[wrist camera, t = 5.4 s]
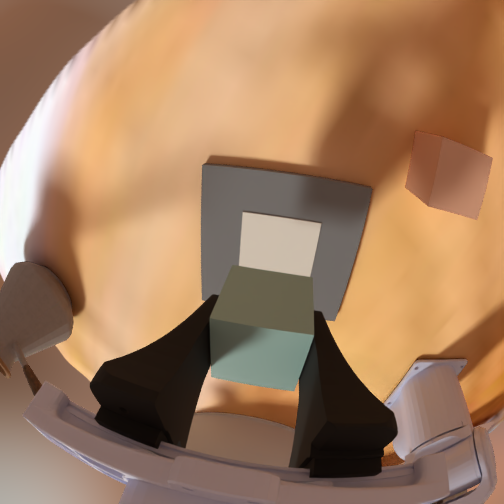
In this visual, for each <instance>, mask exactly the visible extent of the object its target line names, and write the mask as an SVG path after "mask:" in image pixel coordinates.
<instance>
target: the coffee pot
mask: <svg viewBox="0 0 504 504" xmlns="http://www.w3.org/2000/svg"><path fill="white" fill-rule="evenodd" d="M72 328H73V314H72V304H71V300H70V297H69V295H68V293H67V291H66V289H65V287H64V286H63V284H62V283H61V281H60V280H59V279H58V278H57V276H56V275H55V274H54V273H53V272H51V271H50V270H49V269H48V268H46V267H44V266H41V265H38V264H35V263H32V262H28V261H25V262H18V263H15V264H14V265H13V267H12V268H11V269H10V271H9V273H8V275H7V278H6V280H5V282H4V284H3V286H2V288H1V291H0V372H1V373H2V374H3V375H4V376H5V377H6V378H10V377H11V374H10V371H11V368H12V366H13V364H14V362H16V361H18V360H19V361H20V364H21V365H22V368H23V371H24V374H25V376H26V378H27V381H28V383H29V385H30V388H31V390H32V392H33V394H34V396H35V395H36V394H37V392H38V391H39V389H40V388H41V386H42V385H41V383H40V382H39V380H38V379H37V377H36V376H35V374H34V372H33V371H32V369H31V368H30V366H29V365H28V363H27V361H26V359H25V357H28V356H30V355H32V354H35V353H37V352H39V351H42V350H44V349H47V348H49V347H51V346H54V345H56V344H58V343H61V342H63V341H65V340H67V339H68V338H69V337H70V335H71V333H72Z"/></svg>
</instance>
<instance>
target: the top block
mask: <svg viewBox="0 0 504 504" xmlns="http://www.w3.org/2000/svg"><path fill="white" fill-rule="evenodd" d="M492 159H493V158H492V157H490V156H488V155H485V154H483V153H481V152H479V151H477V150H474V149H472V148H470V147H468V146H465V145H463V144H460V143H458V142H455V141H453V140H450V139H448V138H445V137H442V136H438V135H434V134H429V133H425V132H420V131H415V137H414V144H413V149H412V155H411V160H410V166H409V171H408V176H407V180H406V185H405V188H406V189H408V190H409V191H410V192H411V193H413V194H414V195H415V196H416V197H418V198H419V199H420V200H421V201H422V202H424V203H425V204H426V205H427V206H429V207H433V208H437V209H440V210H444V211H448V212H451V213H455V214H458V215H462V216H465V217H469V218H472V219H475V220H477V219H478V216H479V212H480V209H481V205H482V202H483V198H484V195H485V191H486V187H487V182H488V178H489V174H490V169H491V164H492Z"/></svg>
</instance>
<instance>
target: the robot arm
mask: <svg viewBox="0 0 504 504" xmlns="http://www.w3.org/2000/svg"><path fill="white" fill-rule="evenodd" d="M218 297H219V295H216V294H212V295H211V296H210V297H209V298H208V299H207V300H206V301H205V302H204V303H203V304H202V305H201V306H200V307H199V308H198V309H197V310H196V311H195V312H194V313H193V314H191V315H190V316H189V317H188V318H187V319H186V320H185V321H183V322H182V323H181V324H180V325H178V326H177V327H176V328H175V329H173V330H172V331H170V332H169V333H168V334H166V335H165V336H163V337H162V338H160V339H158V340H157V341H155V342H153V343H151V344H150V345H148V346H146V347H144V348H142V349H140V350H137V351H135V352H133V353H130V354H128V355H125V356H122V357H119V358H116V359H113V360H110V361H106V362H104V363H103V365H102V366H101V367H100V368H99V370H98V371H97V373H96V375H95V376H94V378H93V379H92V381H91V383H90V389H91V391H92V393H93V394H94V396H95V397H96V399H97V401H98V402H99V403H100V405H101V407H100V409H99V411H98V413H97V414H95V413H93V412H91V411H89V410H87V409H85V408H83V407H81V406H79V405H77V404H75V403H74V402H72V401H70V399H69V398H68V396H67V395H66V394H65V393H64V392H63V391H62V390H60V389H59V388H57V387H56V386H54V385H52V384H51V383H49V382H47V381H45V382H44V384H43V385H42V386H41V388H40V389H39V391H38V392H37V394H36V395H35V397H34V398H33V400H32V401H31V403H30V404H29V406H28V407H27V409H26V410H25V412H24V413H23V417H25V419H26V420H27V421H29V423H30V424H32V425H33V426H34V427H35V428H36V429H37V430H38V431H39V432H40V433H42V435H43V436H45V437H46V438H47V439H48V440H50V441H51V442H53V443H54V444H56V445H57V446H59V447H60V448H62V449H63V450H65V451H66V452H68V453H69V454H71V455H73V456H74V457H76V458H77V459H79V460H81V461H82V462H84V463H86V464H87V465H89V466H91V467H93V468H94V469H96V470H98V471H100V472H102V473H103V474H106V475H107V476H109V477H111V478H113V479H115V480H117V481H119V482H121V483H123V484H126V487H125V489H124V492H123V494H122V497H121V499H120V502H119V504H432V503H435V502H438V501H441V500H443V499H446V498H448V497H451V496H453V495H455V494H458V493H460V492H462V491H465V490H467V489H469V488H471V487H473V486H475V485H477V484H479V483H480V485H479V486H478V487H477V488H475V489H474V490H472V491H469V492H467V493H465V494H463V495H461V496H458V497H456V498H454V499H451V500H449V501H446V502H443V503H441V504H484V503H485V501H486V500H487V499H488V498H489V496H490V495H491V494H492V493H493V491H494V489H495V485H496V483H497V476H496V463H495V456H494V451H493V447H492V444H491V440H490V437H489V435H488V432H487V430H486V429H485V428H481V427H480V426H479V427H477V428H474V427H473V425H472V421H471V417H470V414H469V411H468V407H467V404H466V401H465V398H464V395H463V392H462V389H461V386H460V383H459V380H458V377H457V376H458V374H459V373H460V372H461V371H462V369H463V368H464V367H465V366H466V364H467V363H468V361H467V359H446V360H417V361H415V362H414V364H413V365H412V367H411V368H410V370H409V371H408V372H407V374H406V375H405V376H404V378H403V379H402V381H401V382H400V383H399V385H398V386H397V387H396V388H395V390H394V391H393V392H392V394H391V395H390V396H389V397H388V399H387V400H386V401H385V402H384V403H382V402H381V401H380V400H378V399H377V398H376V397H375V396H374V395H373V394H372V393H371V392H370V391H369V390H368V389H367V387H366V386H365V385H364V384H363V383H362V382H361V381H360V379H359V378H358V377H357V376H356V374H355V373H354V372H353V370H352V369H351V367H350V366H349V364H348V363H347V361H346V360H345V358H344V357H343V355H342V353H341V351H340V350H339V348H338V346H337V344H336V342H335V340H334V338H333V336H332V334H331V332H330V330H329V327H328V325H327V323H326V320H325V318H324V315H323V313H322V312H321V311H316V310H314V337H313V340H312V343H311V346H310V349H309V352H308V355H307V358H306V360H305V363H304V366H303V369H302V371H301V374H300V377H299V404H298V412H297V420H296V427H295V434H294V440H293V446H292V452H291V457H290V462H289V467H279V466H270V465H262V464H255V463H248V462H242V461H237V460H231V459H226V458H222V457H217V456H213V455H208V454H204V453H200V452H196V451H193V450H189V449H186V444H187V440H188V436H189V432H190V428H191V424H192V420H193V416H194V413H195V409H196V405H197V402H198V398H199V395H200V392H201V388H202V385H203V382H204V380H205V377H206V375H207V372H208V370H209V368H210V365H211V354H210V316H211V313H212V311H213V309H214V306H215V304H216V302H217V299H218ZM392 441H393V447H394V450H395V452H396V454H397V455H398V456H399V457H400V458H401V459H403V460H405V463H404V464H402V465H394V466H385V467H382V465H381V457H383V456H384V447H386V446H387V445H388V444H389V443H390V442H392Z"/></svg>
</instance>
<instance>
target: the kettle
mask: <svg viewBox="0 0 504 504" xmlns="http://www.w3.org/2000/svg"><path fill="white" fill-rule="evenodd" d="M294 434H295V429H294V428H291V427H289V426H286V425H283V424H280V423H277V422H273V421H270V420H266V419H261V418H257V417H251V416H246V415H239V414H231V413H220V412H201V413H194V416H193V420H192V424H191V428H190V432H189V436H188V440H187V444H186V449H189V450H193V451H196V452H200V453H204V454H208V455H213V456H217V457H222V458H226V459H231V460H237V461H242V462H248V463H255V464H262V465H270V466H279V467H289V462H290V457H291V452H292V446H293V440H294Z"/></svg>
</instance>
